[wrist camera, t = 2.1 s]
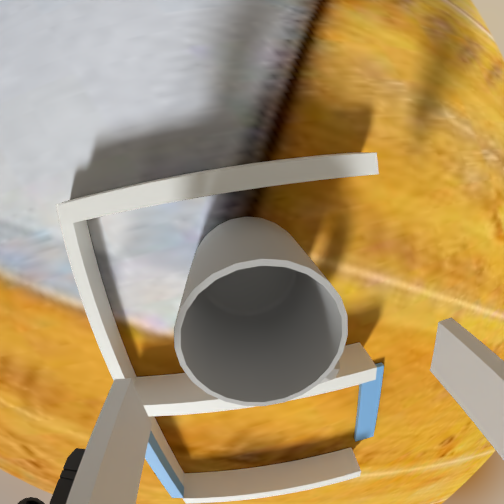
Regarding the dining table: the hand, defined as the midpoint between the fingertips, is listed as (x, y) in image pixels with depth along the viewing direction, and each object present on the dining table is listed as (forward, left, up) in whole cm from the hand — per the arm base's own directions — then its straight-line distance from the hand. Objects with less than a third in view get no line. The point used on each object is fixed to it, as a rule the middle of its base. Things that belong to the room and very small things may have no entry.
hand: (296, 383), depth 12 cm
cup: (0, 0, -10) cm, 10 cm away
